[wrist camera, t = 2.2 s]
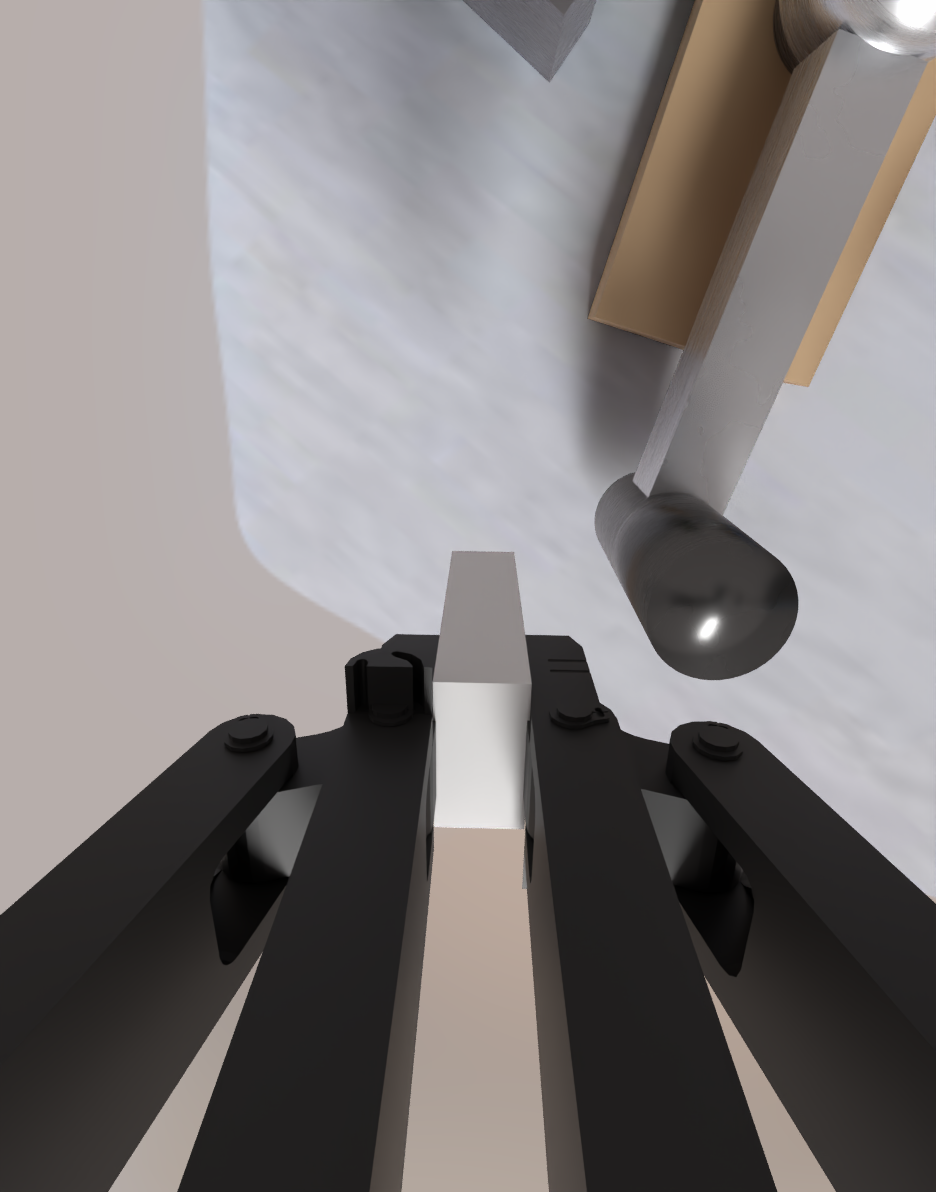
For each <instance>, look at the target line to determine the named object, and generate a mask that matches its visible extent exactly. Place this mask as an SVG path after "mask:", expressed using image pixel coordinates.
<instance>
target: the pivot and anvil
mask: <svg viewBox="0 0 936 1192" xmlns="http://www.w3.org/2000/svg"><path fill="white" fill-rule="evenodd" d="M463 1H464V2H465V3H467V4H468V5H469V6H470V7H471V8H472V9H473V10H474V11H475V12H476V13H477V14H478V15H479V16H480V17H481V18H482V19H483V20H484V21H485V22H487V23H488V24H489V25H490V26H491V27H492V28H493V29H494V30H495V31H496V32H497V33H498V34H499V35H500V36H501V37H502V38H503V39H504V40H505V41H507V42H508V43H509V44H510V45H511V46H512V47H513V48H514V49H515V50H516V51H517V52H518V53H519V54H520V55H521V56H522V57H523V58H524V59H525V60H527V61H528V62H529V63H530V64H531V65H532V66H533V67H534V68H535V69H536V70H537V71H538V72H539V73H540V74H541V75H542V76H543V77H544V78H545V79H546V80H548V81H549V82H550V81H551V79H552V78H553V76H554V75H555V73H556V72H557V70H558V69H559V67H560V66H561V64H562V63H563V61H564V60H565V58H566V57H567V55H568V54H569V52H570V51H571V49H572V48H573V46H574V45H575V43H576V42H577V40H578V39H579V37H580V36H581V34H582V33H583V31H584V30H585V28H586V27H587V25H588V24H589V22H590V19H591V15H592V12H593V9H594V6H595V2H596V0H463ZM773 33H774V40H775V44H776V48H777V51H778V54H779V56H780V58H781V60H782V62H783V64H784V66H785V67H786V68H787V69H788V71H789V72H790V73H791V74H792V73H793V70H794V68H795V67H796V66H797V65H799V64H800V62H799V61H798V60H797V59H796V57H795V56H794V54H793V52H792V50H791V48H790V46H789V44H788V42H787V39H786V36H785V34H784V30H783V26H782V22H781V17H780V8H779V0H775V5H774V12H773Z"/></svg>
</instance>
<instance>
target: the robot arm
mask: <svg viewBox="0 0 936 1192" xmlns="http://www.w3.org/2000/svg"><path fill="white" fill-rule="evenodd" d="M345 677H346V693H347V709H348V714H347V717H346V720H345V722H344V725H343V726H342V727H340V728H338V729H335V730H332V731H329V732H325V733H321V734H317V735H310V736H304V737H298V738H296V735H295V729H294V726H293V725H292V724H291V723H290V722H289V721H287V720H286V719H284V718H281V717H278V716H275V715H262V714H250V715H244V716H240V717H237V718H235V719H232V720H229V721H226V722H224V723H222V724H220V725H219V726H217V727H216V728H214V729H212V730H211V731H209V732H208V733H207V734H206V735H205V736H204V737H203V738H201V739H200V740H199V741H198V742H197V743H196V744H195V745H194V746H192V747H191V748H190V749H189V750H188V751H187V752H186V753H184V754H183V755H182V756H181V757H180V758H179V759H178V760H176V761H175V762H174V763H173V764H172V765H171V766H170V767H168V768H167V769H166V770H165V771H164V772H163V773H162V774H161V775H159V776H158V777H157V778H156V779H155V780H154V781H153V782H151V784H149V785H148V786H147V787H146V788H145V789H144V790H142V791H141V792H140V793H139V794H138V795H137V796H136V797H134V798H133V799H132V800H131V801H130V802H129V803H128V804H126V805H125V806H124V807H123V808H122V809H121V810H120V811H118V812H117V813H116V814H115V815H114V816H113V817H112V818H110V819H109V820H108V821H107V822H106V823H105V824H104V825H103V826H101V827H100V828H99V829H98V830H97V831H96V832H95V833H93V834H92V835H91V836H90V837H89V838H88V839H87V840H86V841H84V842H83V843H82V844H81V845H80V846H79V847H77V848H76V849H75V850H74V851H73V852H72V853H71V854H70V855H68V856H67V857H66V858H65V859H64V860H63V861H62V862H61V863H59V864H58V865H57V866H56V867H55V868H54V869H52V870H51V871H50V872H49V873H48V874H47V875H46V876H45V877H43V878H42V879H41V880H40V881H39V882H38V883H37V884H35V885H34V886H33V887H32V888H31V889H30V890H29V891H27V892H26V893H25V894H24V895H23V896H22V897H21V898H19V899H18V900H17V901H16V902H15V903H14V904H13V905H12V906H10V907H9V908H8V909H7V910H6V911H5V912H4V913H2V914H1V915H0V1192H108V1191H109V1189H110V1188H111V1186H112V1185H113V1183H114V1181H115V1180H116V1178H117V1177H118V1175H119V1174H120V1172H121V1171H122V1169H123V1168H124V1166H125V1165H126V1163H127V1161H128V1160H129V1158H130V1157H131V1155H132V1154H133V1152H134V1151H135V1149H136V1147H137V1146H138V1144H139V1143H140V1141H141V1139H142V1138H143V1137H144V1135H145V1133H146V1132H147V1130H148V1129H149V1127H150V1125H151V1124H152V1123H153V1121H154V1120H155V1118H156V1116H157V1115H158V1113H159V1112H160V1110H161V1109H162V1107H163V1106H164V1104H165V1102H166V1101H167V1099H168V1098H169V1096H170V1094H171V1093H172V1091H173V1090H174V1088H175V1087H176V1085H177V1084H178V1082H179V1081H180V1079H181V1078H182V1076H183V1074H184V1073H185V1071H186V1069H187V1068H188V1067H189V1065H190V1064H191V1062H192V1061H193V1059H194V1057H195V1056H196V1054H197V1053H198V1051H199V1050H200V1048H201V1047H202V1045H203V1043H204V1042H205V1040H206V1039H207V1037H208V1036H209V1034H210V1032H211V1031H212V1029H213V1028H214V1026H215V1025H216V1023H217V1022H218V1020H219V1018H220V1017H221V1015H222V1014H223V1012H224V1011H225V1009H226V1007H227V1006H228V1005H229V1003H230V1001H231V1000H232V998H233V997H234V995H235V994H236V992H237V991H238V989H239V988H240V986H241V984H242V983H243V981H244V980H245V978H246V977H247V975H248V974H249V972H250V970H251V969H252V967H253V966H254V964H255V963H256V961H257V959H258V958H259V956H260V955H261V953H262V952H263V953H262V956H261V958H260V961H259V964H258V967H257V970H256V973H255V975H254V978H253V981H252V984H251V986H250V989H249V992H248V995H247V998H246V1000H245V1003H244V1006H243V1009H242V1012H241V1014H240V1017H239V1020H238V1023H237V1026H236V1029H235V1031H234V1034H233V1037H232V1040H231V1043H230V1046H229V1048H228V1051H227V1054H226V1057H225V1059H224V1062H223V1065H222V1068H221V1071H220V1073H219V1076H218V1079H217V1082H216V1085H215V1087H214V1090H213V1093H212V1096H211V1099H210V1102H209V1104H208V1107H207V1110H206V1113H205V1116H204V1119H203V1121H202V1124H201V1127H200V1130H199V1132H198V1135H197V1138H196V1141H195V1144H194V1147H193V1149H192V1152H191V1155H190V1158H189V1161H188V1163H187V1166H186V1169H185V1172H184V1175H183V1177H182V1180H181V1183H180V1186H179V1189H178V1191H177V1192H401V1189H402V1179H403V1168H404V1157H405V1147H406V1136H407V1126H408V1115H409V1105H410V1094H411V1084H412V1073H413V1063H414V1052H415V1042H416V1041H415V1040H416V1031H417V1020H418V1010H419V999H420V989H421V978H422V968H423V957H424V947H425V936H426V925H427V915H428V905H429V894H430V884H431V873H432V862H433V852H434V829H433V828H434V827H456V828H496V829H524V824H525V822H526V828H525V846H524V865H523V885H522V889H527V894H528V910H529V923H530V937H531V951H532V965H533V977H534V992H535V1005H536V1019H537V1031H538V1044H539V1045H538V1047H539V1061H540V1073H541V1088H542V1101H543V1116H544V1130H545V1142H546V1157H547V1171H548V1183H549V1192H777V1189H776V1187H775V1183H774V1181H773V1178H772V1175H771V1172H770V1169H769V1166H768V1163H767V1160H766V1157H765V1154H764V1151H763V1148H762V1145H761V1143H760V1139H759V1136H758V1133H757V1130H756V1127H755V1124H754V1122H753V1119H752V1116H751V1113H750V1110H749V1107H748V1104H747V1101H746V1098H745V1095H744V1092H743V1089H742V1086H741V1083H740V1080H739V1077H738V1074H737V1071H736V1068H735V1066H734V1063H733V1060H732V1057H731V1054H730V1051H729V1048H728V1045H727V1042H726V1039H725V1036H724V1033H723V1030H722V1027H721V1024H720V1021H719V1018H718V1015H717V1012H716V1009H715V1006H714V1004H713V1001H712V998H711V995H710V992H709V989H708V986H707V983H706V980H705V978H706V979H707V981H708V982H709V984H710V986H711V987H712V989H713V991H714V992H715V994H716V996H717V997H718V999H719V1000H720V1002H721V1004H722V1005H723V1007H724V1009H725V1010H726V1012H727V1014H728V1015H729V1017H730V1018H731V1020H732V1022H733V1023H734V1025H735V1027H736V1028H737V1030H738V1032H739V1033H740V1035H741V1036H742V1038H743V1040H744V1041H745V1043H746V1045H747V1046H748V1048H749V1050H750V1051H751V1053H752V1055H753V1056H754V1058H755V1059H756V1061H757V1063H758V1064H759V1066H760V1068H761V1069H762V1071H763V1073H764V1074H765V1076H766V1078H767V1079H768V1081H769V1082H770V1084H771V1086H772V1087H773V1089H774V1091H775V1092H776V1094H777V1096H778V1097H779V1099H780V1100H781V1102H782V1104H783V1105H784V1107H785V1109H786V1110H787V1112H788V1114H789V1115H790V1117H791V1118H792V1120H793V1122H794V1123H795V1125H796V1127H797V1128H798V1130H799V1132H800V1133H801V1135H802V1137H803V1138H804V1140H805V1141H806V1143H807V1145H808V1146H809V1148H810V1150H811V1151H812V1153H813V1155H814V1156H815V1158H816V1159H817V1161H818V1163H819V1164H820V1166H821V1168H822V1169H823V1171H824V1173H825V1174H826V1176H827V1177H828V1179H829V1181H830V1182H831V1184H832V1186H833V1187H834V1189H835V1191H836V1192H936V904H935V903H934V902H933V901H932V900H931V899H930V898H929V897H928V896H927V895H926V894H925V893H923V892H922V891H921V890H920V889H919V888H918V887H917V886H916V885H915V884H914V883H913V882H911V881H910V880H909V879H908V878H907V877H906V876H905V875H904V874H903V873H902V872H901V871H899V870H898V869H897V868H896V867H895V866H894V865H893V864H892V863H891V862H890V861H889V860H887V859H886V858H885V857H884V856H883V855H882V854H881V853H880V852H879V851H878V850H877V849H875V848H874V847H873V846H872V845H871V844H870V843H869V842H868V841H867V840H866V839H865V838H863V837H862V836H861V835H860V834H859V833H858V832H857V831H856V830H855V829H854V828H852V827H851V826H850V825H849V824H848V823H847V822H846V821H845V820H844V819H843V818H842V817H840V816H839V815H838V814H837V813H836V812H835V811H834V810H833V809H832V808H831V807H830V806H828V805H827V804H826V803H825V802H824V801H823V800H822V799H821V798H820V797H819V796H818V795H816V794H815V793H814V792H813V791H812V790H811V789H810V788H809V787H808V786H807V785H806V784H804V783H803V782H802V781H801V780H800V779H799V778H798V777H797V776H796V775H795V774H794V773H792V772H791V771H790V770H789V769H788V768H787V767H786V766H785V765H784V764H783V763H782V762H780V761H779V760H778V759H777V758H776V757H775V756H774V755H773V754H772V753H771V752H770V751H768V750H767V749H766V748H765V747H764V746H763V745H762V744H761V743H760V742H759V741H757V740H756V739H754V738H753V737H752V736H750V735H749V734H747V733H746V732H744V731H741V730H739V729H736V728H734V727H731V726H730V725H727V724H723V723H717V722H711V721H707V722H690V723H686V724H682V725H680V726H678V727H677V728H676V729H675V730H673V731H672V733H671V738H670V744H667V743H662V742H657V741H652V740H648V739H644V738H640V737H637V736H633V735H631V734H629V733H626V732H624V731H622V730H621V729H620V726H619V723H618V720H617V718H616V717H615V715H614V714H613V712H612V711H611V710H610V709H609V708H607V707H606V706H604V705H603V704H601V703H600V702H599V699H598V696H597V693H596V689H595V686H594V683H593V680H592V677H591V673H590V670H589V667H588V664H587V662H586V657H585V654H584V651H583V648H582V646H580V645H579V644H578V643H577V642H575V641H574V640H573V639H572V638H571V637H569V636H551V635H525V630H524V623H523V616H522V608H521V601H520V593H519V586H518V578H517V571H516V564H515V556H514V552H476V551H452V556H451V563H450V570H449V576H448V583H447V590H446V596H445V603H444V610H443V617H442V623H441V630H440V635H406V634H396V635H395V636H393V637H392V638H391V639H389V640H388V641H387V642H386V643H384V644H383V645H382V648H381V649H374V650H370V651H366V652H363V653H361V654H359V655H357V656H355V657H353V658H351V659H350V660H349V662H348V663H347V664H346V665H345ZM433 824H434V825H433ZM704 976H705V977H704Z"/></svg>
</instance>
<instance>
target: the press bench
mask: <svg viewBox="0 0 936 1192" xmlns="http://www.w3.org/2000/svg"><path fill="white" fill-rule="evenodd" d="M774 5H775V0H695V1H694V4H693V7H692V10H691V13H690V16H689V19H688V22H687V25H686V28H685V31H684V34H683V37H682V40H681V43H680V46H679V49H678V52H677V55H676V58H675V61H674V64H673V67H672V70H671V73H670V76H669V78H668V81H667V84H666V87H665V90H664V93H663V96H662V99H661V102H660V105H659V108H658V111H657V114H656V117H655V120H654V123H653V126H652V129H651V132H650V135H649V138H648V141H647V144H646V147H645V150H644V153H643V156H642V159H641V161H640V164H639V167H638V170H637V173H636V176H635V179H634V182H633V185H632V188H631V191H630V194H629V197H628V200H627V203H626V206H625V209H624V212H623V215H622V218H621V221H620V224H619V227H618V230H617V233H616V236H615V239H614V242H613V245H612V247H611V250H610V253H609V256H608V259H607V262H606V265H605V268H604V271H603V274H602V277H601V280H600V283H599V286H598V289H597V292H596V295H595V298H594V301H593V304H592V307H591V310H590V313H589V316H588V319H591V320H594V321H597V322H600V323H603V324H606V325H609V326H612V327H615V328H619V329H622V330H625V331H628V332H631V333H634V334H637V335H640V336H643V337H646V338H649V339H652V340H655V341H658V342H661V343H664V344H667V345H670V346H674V347H677V348H680V349H683V350H684V347H685V345H686V342H687V340H688V337H689V335H690V332H691V330H692V327H693V325H694V322H695V319H696V317H697V314H698V312H699V309H700V307H701V304H702V302H703V299H704V297H705V294H706V291H707V289H708V286H709V284H710V281H711V279H712V276H713V274H714V271H715V269H716V266H717V264H718V261H719V258H720V256H721V253H722V251H723V248H724V246H725V243H726V241H727V238H728V236H729V233H730V230H731V228H732V225H733V223H734V220H735V218H736V215H737V213H738V210H739V208H740V205H741V202H742V200H743V197H744V195H745V192H746V190H747V187H748V185H749V182H750V180H751V177H752V175H753V172H754V169H755V167H756V164H757V162H758V159H759V157H760V154H761V152H762V149H763V147H764V144H765V141H766V139H767V136H768V134H769V131H770V129H771V126H772V124H773V121H774V119H775V116H776V113H777V111H778V108H779V106H780V103H781V101H782V98H783V96H784V93H785V91H786V88H787V86H788V83H789V80H790V78H791V75H792V74H791V73H790V72H789V71H788V69H787V68H786V67H785V66H784V64H783V62H782V60H781V58H780V56H779V54H778V51H777V48H776V44H775V40H774V33H773V12H774ZM935 115H936V58H935V59H933V60H932V61H930V62H928V63H927V65H926V68H925V70H924V72H923V74H922V76H921V79H920V81H919V83H918V85H917V88H916V90H915V92H914V94H913V96H912V99H911V101H910V103H909V105H908V107H907V110H906V112H905V114H904V116H903V118H902V121H901V123H900V125H899V127H898V129H897V132H896V134H895V136H894V138H893V140H892V143H891V145H890V147H889V149H888V152H887V154H886V156H885V158H884V160H883V163H882V165H881V167H880V169H879V171H878V174H877V176H876V178H875V180H874V182H873V185H872V187H871V189H870V191H869V193H868V196H867V198H866V200H865V202H864V204H863V207H862V209H861V211H860V213H859V216H858V218H857V220H856V222H855V224H854V227H853V229H852V231H851V233H850V235H849V238H848V240H847V242H846V244H845V246H844V249H843V251H842V253H841V255H840V257H839V260H838V262H837V264H836V266H835V268H834V271H833V273H832V275H831V277H830V280H829V282H828V284H827V286H826V288H825V291H824V293H823V295H822V297H821V299H820V302H819V304H818V306H817V308H816V310H815V313H814V315H813V317H812V319H811V321H810V324H809V326H808V328H807V330H806V332H805V335H804V337H803V339H802V341H801V344H800V346H799V348H798V350H797V352H796V355H795V357H794V359H793V361H792V363H791V366H790V368H789V370H788V372H787V374H786V377H785V379H784V381H783V382H784V383H788V384H794V385H800V386H806V387H809V385H810V382H811V380H812V378H813V376H814V374H815V372H816V370H817V367H818V365H819V363H820V361H821V359H822V357H823V355H824V352H825V350H826V348H827V346H828V344H829V342H830V340H831V338H832V335H833V333H834V331H835V329H836V327H837V325H838V323H839V320H840V318H841V316H842V314H843V312H844V310H845V308H846V305H847V303H848V301H849V299H850V297H851V295H852V293H853V290H854V288H855V286H856V284H857V282H858V280H859V278H860V276H861V273H862V271H863V269H864V267H865V265H866V263H867V261H868V258H869V256H870V254H871V252H872V250H873V248H874V246H875V243H876V241H877V239H878V237H879V235H880V233H881V231H882V228H883V226H884V224H885V222H886V220H887V218H888V216H889V214H890V211H891V209H892V207H893V205H894V203H895V201H896V199H897V196H898V194H899V192H900V190H901V188H902V186H903V184H904V181H905V179H906V177H907V175H908V173H909V171H910V169H911V167H912V164H913V162H914V160H915V158H916V156H917V154H918V152H919V149H920V147H921V145H922V143H923V141H924V139H925V137H926V134H927V132H928V130H929V128H930V126H931V124H932V122H933V119H934V117H935Z"/></svg>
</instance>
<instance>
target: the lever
mask: <svg viewBox="0 0 936 1192" xmlns="http://www.w3.org/2000/svg"><path fill="white" fill-rule="evenodd" d="M779 8H780V17H781V22H782V26H783V30H784V34H785V36H786V39H787V42H788V44H789V46H790V48H791V50H792V52H793V54H794V56H795V57H796V59H797V60H798V61H799V62H800V64H799V65H797V66H796V67H795V68H794V70H793V73H792V75H791V78H790V80H789V83H788V86H787V88H786V91H785V93H784V96H783V98H782V101H781V103H780V106H779V108H778V111H777V113H776V116H775V119H774V121H773V124H772V126H771V129H770V131H769V134H768V136H767V139H766V141H765V144H764V147H763V149H762V152H761V154H760V157H759V159H758V162H757V164H756V167H755V169H754V172H753V175H752V177H751V180H750V182H749V185H748V187H747V190H746V192H745V195H744V197H743V200H742V202H741V205H740V208H739V210H738V213H737V215H736V218H735V220H734V223H733V225H732V228H731V230H730V233H729V236H728V238H727V241H726V243H725V246H724V248H723V251H722V253H721V256H720V258H719V261H718V264H717V266H716V269H715V271H714V274H713V276H712V279H711V281H710V284H709V286H708V289H707V291H706V294H705V297H704V299H703V302H702V304H701V307H700V309H699V312H698V314H697V317H696V319H695V322H694V325H693V327H692V330H691V332H690V335H689V337H688V340H687V342H686V345H685V347H684V350H683V353H682V355H681V358H680V360H679V363H678V365H677V368H676V370H675V373H674V375H673V378H672V381H671V383H670V386H669V388H668V391H667V393H666V396H665V398H664V401H663V403H662V406H661V408H660V411H659V414H658V416H657V419H656V421H655V424H654V426H653V429H652V431H651V434H650V436H649V439H648V442H647V444H646V447H645V449H644V452H643V454H642V457H641V459H640V462H639V464H638V467H637V470H636V472H634V473H630V474H628V475H626V476H624V477H622V478H620V479H618V480H617V481H616V482H614V483H613V484H612V485H611V486H610V487H609V488H608V489H607V490H606V492H605V493H604V494H603V496H602V497H601V499H600V501H599V503H598V506H597V509H596V513H595V531H596V535H597V538H598V540H599V542H600V544H601V546H602V548H603V550H604V552H605V554H606V556H607V558H608V560H609V562H610V564H611V566H612V568H613V569H614V571H615V573H616V575H617V577H618V579H619V581H620V583H621V585H622V587H623V589H624V591H625V593H626V595H627V597H628V599H629V601H630V603H631V605H632V606H633V608H634V610H635V612H636V614H637V616H638V618H639V620H640V622H641V624H642V626H643V628H644V630H645V632H646V634H647V636H648V638H649V640H650V642H651V644H652V645H653V647H654V649H655V651H656V652H657V654H658V655H659V656H660V657H661V659H662V660H663V661H664V662H665V663H667V664H668V665H669V666H670V667H672V668H673V669H675V670H676V671H678V672H680V673H682V674H684V675H687V676H690V677H693V678H698V679H704V680H723V679H730V678H734V677H738V676H741V675H744V674H746V673H749V672H751V671H753V670H755V669H757V668H758V667H760V666H762V665H763V664H765V663H766V662H767V661H769V660H770V659H771V658H772V657H773V656H774V655H775V654H776V653H777V652H778V651H779V650H780V649H781V648H782V646H783V645H784V644H785V643H786V641H787V639H788V638H789V636H790V634H791V632H792V630H793V628H794V625H795V622H796V618H797V613H798V594H797V589H796V586H795V582H794V580H793V578H792V576H791V574H790V573H789V571H788V570H787V568H786V567H785V566H784V565H783V564H782V563H781V562H780V561H779V560H778V559H777V558H776V557H775V556H773V555H772V554H771V553H769V552H768V551H767V550H766V549H764V548H763V547H762V546H761V545H759V544H758V543H757V542H755V541H754V540H753V539H752V538H750V537H749V536H748V535H747V534H745V533H744V532H743V531H741V530H740V529H739V528H738V527H736V526H735V525H734V524H733V523H731V522H730V521H729V520H727V519H726V518H725V517H724V516H723V513H724V511H725V509H726V507H727V505H728V502H729V500H730V498H731V496H732V494H733V491H734V489H735V487H736V485H737V483H738V480H739V478H740V476H741V474H742V472H743V469H744V467H745V465H746V463H747V460H748V458H749V456H750V454H751V452H752V449H753V447H754V445H755V443H756V441H757V438H758V436H759V434H760V432H761V430H762V427H763V425H764V423H765V421H766V419H767V416H768V414H769V412H770V410H771V408H772V405H773V403H774V401H775V399H776V396H777V394H778V392H779V390H780V388H781V385H782V383H783V381H784V379H785V377H786V374H787V372H788V370H789V368H790V366H791V363H792V361H793V359H794V357H795V355H796V352H797V350H798V348H799V346H800V344H801V341H802V339H803V337H804V335H805V332H806V330H807V328H808V326H809V324H810V321H811V319H812V317H813V315H814V313H815V310H816V308H817V306H818V304H819V302H820V299H821V297H822V295H823V293H824V291H825V288H826V286H827V284H828V282H829V280H830V277H831V275H832V273H833V271H834V268H835V266H836V264H837V262H838V260H839V257H840V255H841V253H842V251H843V249H844V246H845V244H846V242H847V240H848V238H849V235H850V233H851V231H852V229H853V227H854V224H855V222H856V220H857V218H858V216H859V213H860V211H861V209H862V207H863V204H864V202H865V200H866V198H867V196H868V193H869V191H870V189H871V187H872V185H873V182H874V180H875V178H876V176H877V174H878V171H879V169H880V167H881V165H882V163H883V160H884V158H885V156H886V154H887V152H888V149H889V147H890V145H891V143H892V140H893V138H894V136H895V134H896V132H897V129H898V127H899V125H900V123H901V121H902V118H903V116H904V114H905V112H906V110H907V107H908V105H909V103H910V101H911V99H912V96H913V94H914V92H915V90H916V88H917V85H918V83H919V81H920V79H921V76H922V74H923V72H924V70H925V68H926V65H927V63H928V62H930V61H932V60H933V59H935V58H936V0H779Z"/></svg>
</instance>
